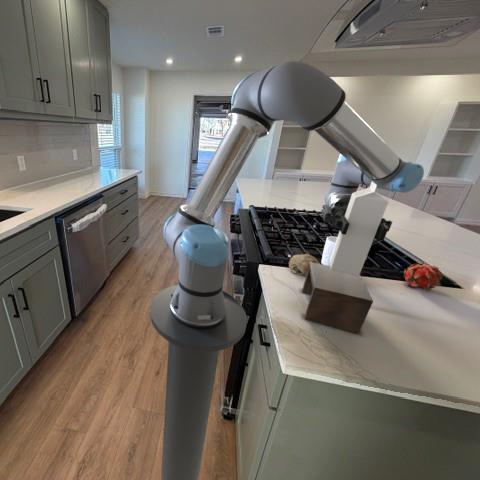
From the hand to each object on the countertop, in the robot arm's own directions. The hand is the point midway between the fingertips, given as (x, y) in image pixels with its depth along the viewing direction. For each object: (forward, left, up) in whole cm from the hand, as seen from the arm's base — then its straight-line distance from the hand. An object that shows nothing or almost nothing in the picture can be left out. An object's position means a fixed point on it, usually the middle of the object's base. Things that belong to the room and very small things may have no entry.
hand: (364, 231), depth 57 cm
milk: (0, +5, -12) cm, 13 cm away
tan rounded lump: (-5, +27, -26) cm, 38 cm away
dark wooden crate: (0, +5, -25) cm, 26 cm away
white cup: (+5, +37, -26) cm, 45 cm away
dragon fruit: (+29, +33, -26) cm, 51 cm away
